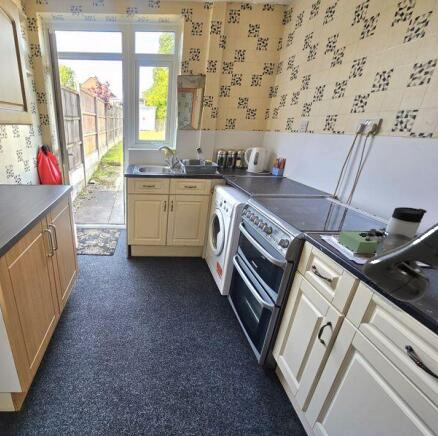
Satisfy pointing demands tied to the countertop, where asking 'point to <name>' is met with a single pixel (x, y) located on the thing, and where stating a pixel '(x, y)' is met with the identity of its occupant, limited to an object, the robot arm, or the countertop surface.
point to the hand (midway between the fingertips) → (398, 234)
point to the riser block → (357, 242)
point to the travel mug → (405, 221)
